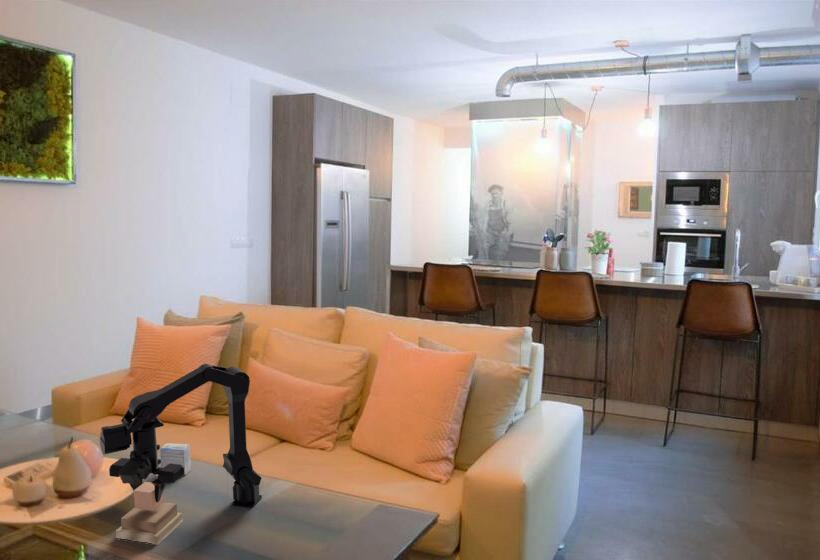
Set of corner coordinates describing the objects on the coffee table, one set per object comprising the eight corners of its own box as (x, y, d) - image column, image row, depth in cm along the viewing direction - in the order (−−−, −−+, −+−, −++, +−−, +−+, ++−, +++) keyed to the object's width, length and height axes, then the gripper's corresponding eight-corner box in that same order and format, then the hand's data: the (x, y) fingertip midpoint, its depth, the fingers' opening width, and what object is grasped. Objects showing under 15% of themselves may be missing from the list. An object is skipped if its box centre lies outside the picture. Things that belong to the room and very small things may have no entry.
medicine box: (191, 469, 218) (190, 443, 217) (185, 476, 214) (184, 449, 212) (167, 468, 219) (165, 442, 218) (161, 474, 215) (159, 448, 213)
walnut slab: (177, 514, 186) (176, 503, 186) (156, 533, 177) (155, 522, 176) (144, 510, 189) (143, 499, 188) (121, 529, 179) (120, 518, 179)
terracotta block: (163, 501, 184) (161, 483, 183) (152, 510, 179) (150, 492, 178) (146, 499, 185) (145, 481, 184) (135, 508, 180) (133, 490, 179)
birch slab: (183, 523, 188) (182, 513, 187) (157, 547, 176) (157, 536, 176) (143, 518, 190) (143, 507, 190) (116, 541, 179) (115, 530, 178)
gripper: (92, 454, 173) (97, 511, 176) (159, 461, 169) (163, 520, 172) (120, 436, 184) (124, 491, 187) (183, 443, 180) (187, 499, 183)
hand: (148, 500), depth 182 cm, fingers closed on terracotta block, 5 cm apart
